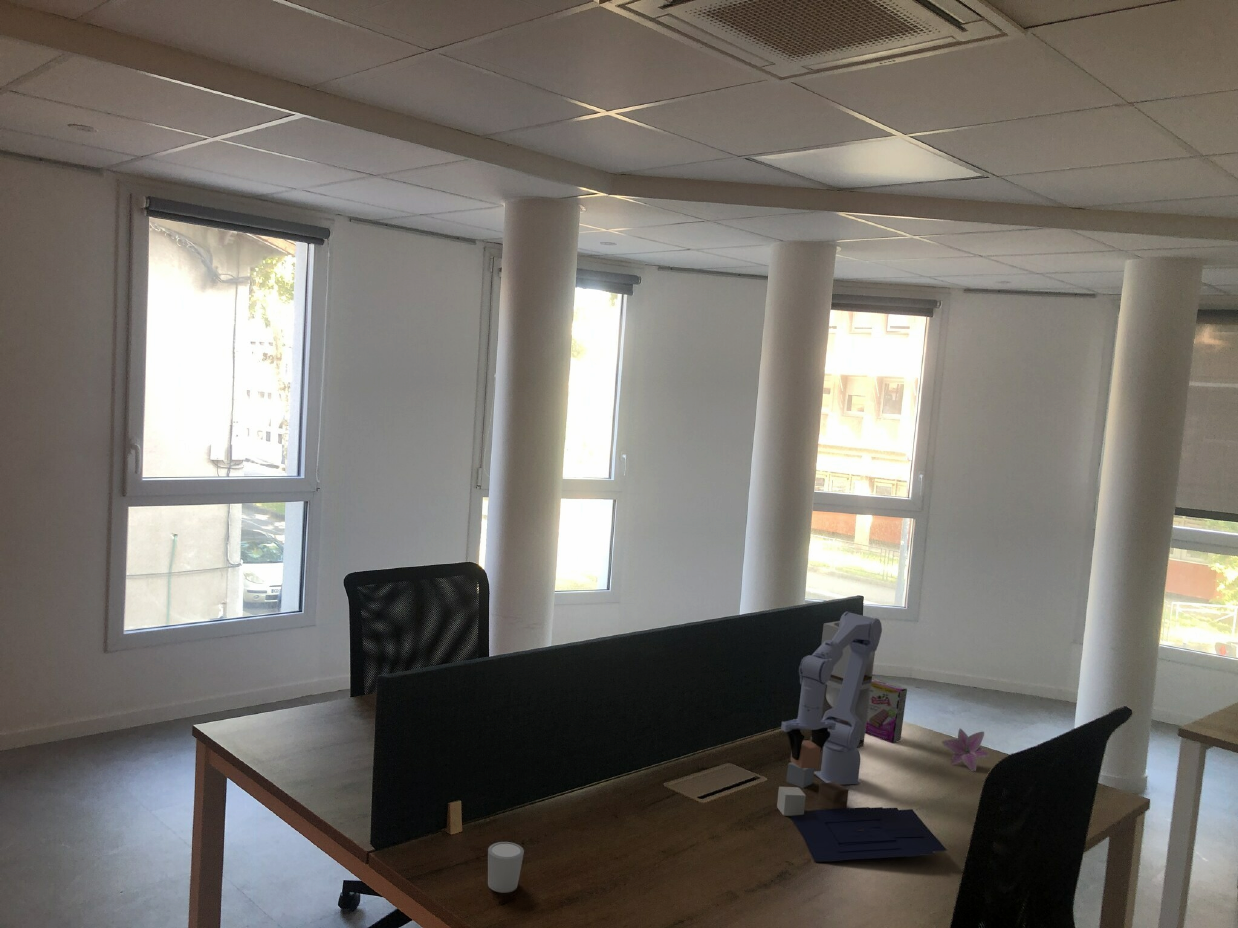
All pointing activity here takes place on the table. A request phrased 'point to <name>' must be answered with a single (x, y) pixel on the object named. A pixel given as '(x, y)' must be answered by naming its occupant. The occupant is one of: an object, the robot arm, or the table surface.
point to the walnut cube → (832, 796)
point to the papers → (865, 833)
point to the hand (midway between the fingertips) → (804, 757)
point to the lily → (966, 748)
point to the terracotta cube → (808, 755)
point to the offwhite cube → (791, 801)
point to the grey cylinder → (504, 866)
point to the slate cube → (799, 775)
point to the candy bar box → (885, 710)
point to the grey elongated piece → (837, 678)
